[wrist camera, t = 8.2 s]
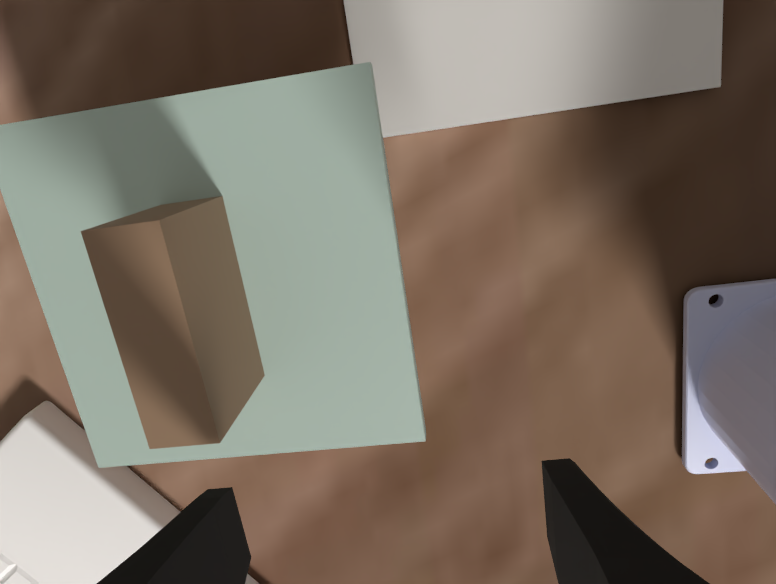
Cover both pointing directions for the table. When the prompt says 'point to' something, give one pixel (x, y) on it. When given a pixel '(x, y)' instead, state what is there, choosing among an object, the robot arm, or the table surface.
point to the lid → (221, 269)
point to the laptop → (69, 505)
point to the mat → (528, 55)
